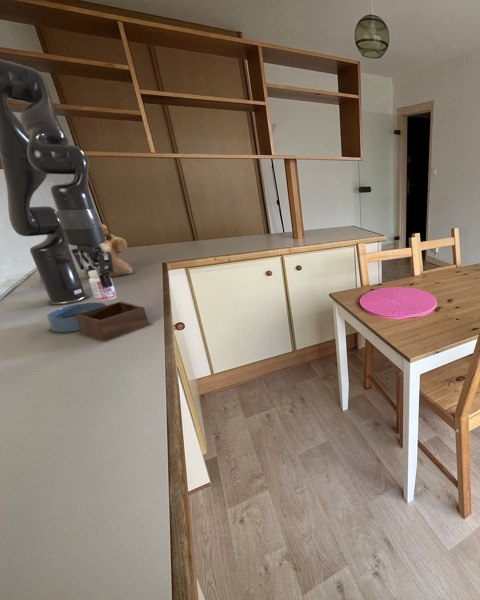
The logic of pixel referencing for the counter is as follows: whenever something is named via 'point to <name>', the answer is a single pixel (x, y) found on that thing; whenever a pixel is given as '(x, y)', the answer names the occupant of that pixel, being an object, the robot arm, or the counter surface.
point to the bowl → (69, 316)
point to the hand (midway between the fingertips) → (102, 285)
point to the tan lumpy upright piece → (115, 253)
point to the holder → (112, 320)
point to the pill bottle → (100, 288)
